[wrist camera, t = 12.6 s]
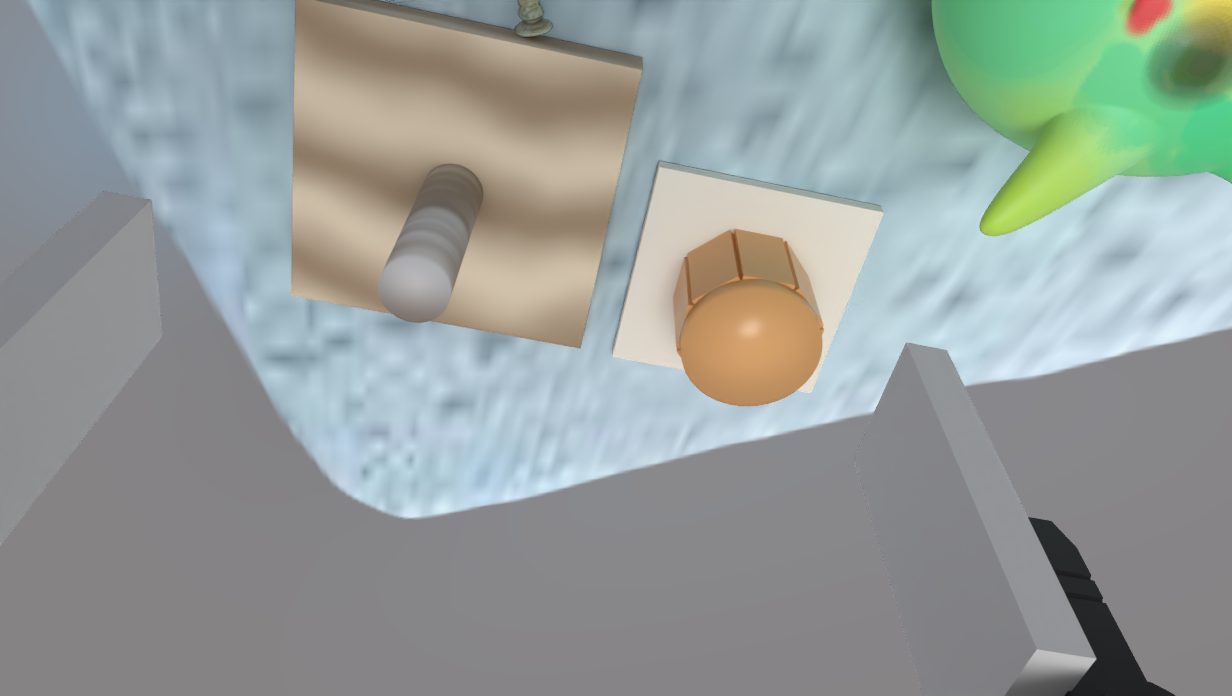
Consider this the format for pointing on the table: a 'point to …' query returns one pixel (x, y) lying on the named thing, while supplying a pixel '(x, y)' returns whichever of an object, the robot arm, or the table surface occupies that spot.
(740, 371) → the cap
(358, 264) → the post base
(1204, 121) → the toy bird
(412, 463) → the table surface
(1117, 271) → the table surface
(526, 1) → the weathered bronze handle
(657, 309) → the pad
